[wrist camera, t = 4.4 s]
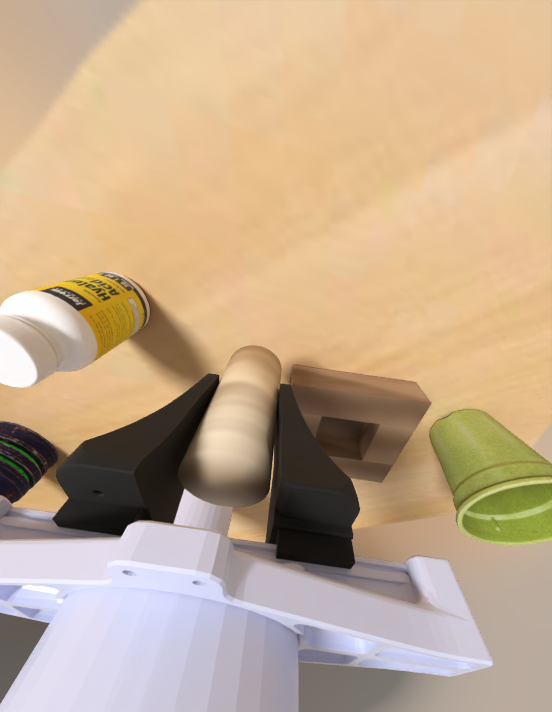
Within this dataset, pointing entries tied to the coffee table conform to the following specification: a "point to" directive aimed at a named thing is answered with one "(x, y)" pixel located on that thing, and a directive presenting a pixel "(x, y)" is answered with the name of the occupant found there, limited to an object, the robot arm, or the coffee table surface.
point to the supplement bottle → (67, 326)
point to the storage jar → (22, 459)
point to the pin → (236, 433)
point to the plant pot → (494, 480)
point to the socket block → (359, 417)
